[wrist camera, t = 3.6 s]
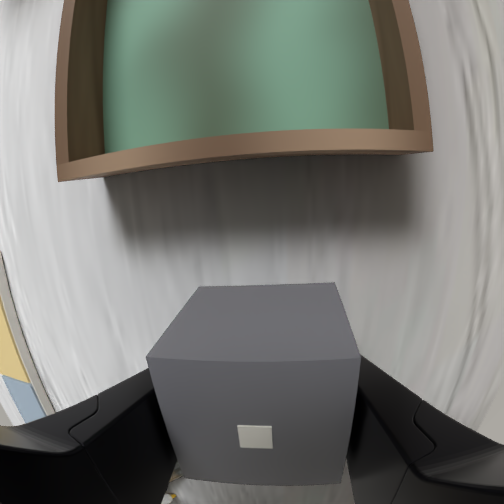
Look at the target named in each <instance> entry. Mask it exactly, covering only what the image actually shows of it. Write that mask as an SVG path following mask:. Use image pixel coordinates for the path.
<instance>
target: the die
mask: <svg viewBox="0 0 504 504" xmlns="http://www.w3.org/2000/svg"><path fill="white" fill-rule="evenodd" d="M146 360H147V363H148V367H149V371H150V375H151V378H152V382H153V386H154V389H155V393H156V396H157V399H158V403H159V406H160V409H161V413H162V416H163V419H164V422H165V425H166V428H167V431H168V434H169V437H170V440H171V443H172V446H173V449H174V452H175V454H176V457H177V460H178V463H179V465H180V468H181V471H182V473H183V476H184V478H188V479H195V480H203V481H212V482H221V483H233V484H247V485H276V486H294V485H322V484H337V483H341V479H342V475H343V470H344V465H345V460H346V455H347V450H348V445H349V439H350V434H351V428H352V422H353V415H354V409H355V402H356V395H357V387H358V380H359V371H360V362H361V356H360V353H359V350H358V347H357V344H356V341H355V338H354V335H353V332H352V329H351V326H350V324H349V321H348V318H347V315H346V312H345V309H344V306H343V304H342V301H341V298H340V295H339V292H338V290H337V287H336V284H335V282H333V283H310V284H283V285H250V286H201V287H198V289H197V290H196V291H195V293H194V294H193V295H192V296H191V298H190V299H189V300H188V302H187V303H186V304H185V306H184V307H183V308H182V310H181V311H180V312H179V313H178V315H177V316H176V317H175V319H174V320H173V321H172V323H171V324H170V325H169V327H168V328H167V329H166V331H165V332H164V333H163V335H162V336H161V337H160V339H159V340H158V341H157V343H156V344H155V345H154V347H153V348H152V349H151V351H150V352H149V353H148V355H147V356H146Z"/></svg>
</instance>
